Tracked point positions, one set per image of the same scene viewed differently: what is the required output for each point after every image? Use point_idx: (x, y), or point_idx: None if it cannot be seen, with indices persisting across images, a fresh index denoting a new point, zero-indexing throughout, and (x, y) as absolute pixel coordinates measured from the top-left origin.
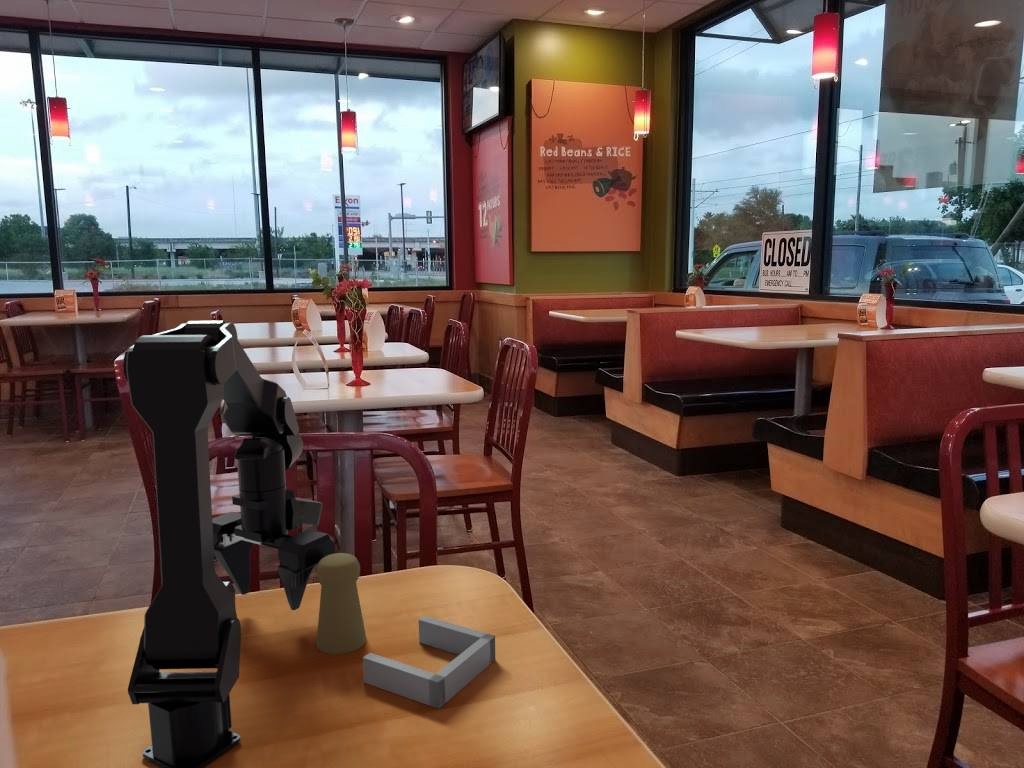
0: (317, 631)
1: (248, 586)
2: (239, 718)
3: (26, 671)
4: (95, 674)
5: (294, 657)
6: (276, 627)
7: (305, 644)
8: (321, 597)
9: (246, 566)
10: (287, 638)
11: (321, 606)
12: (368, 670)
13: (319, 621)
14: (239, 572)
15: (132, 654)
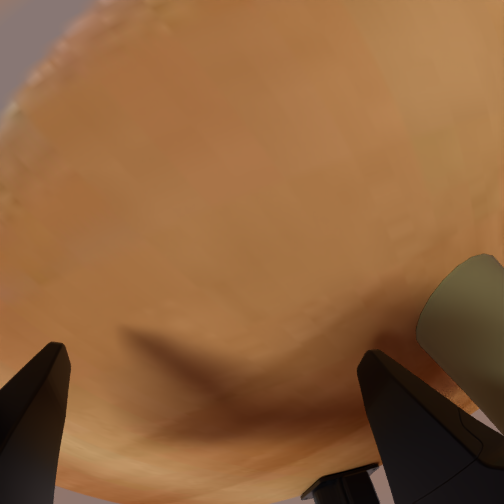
0: (437, 360)
1: (56, 366)
2: (360, 458)
3: None
4: (108, 482)
5: None
6: (275, 336)
7: (393, 350)
8: (496, 426)
9: (18, 453)
10: (341, 356)
11: (484, 413)
12: None
13: (459, 386)
14: (42, 462)
15: (88, 460)
